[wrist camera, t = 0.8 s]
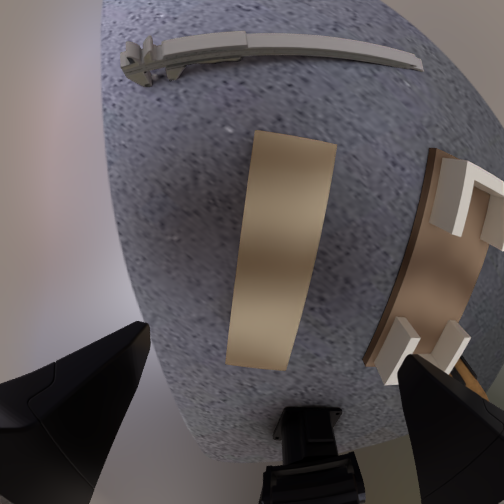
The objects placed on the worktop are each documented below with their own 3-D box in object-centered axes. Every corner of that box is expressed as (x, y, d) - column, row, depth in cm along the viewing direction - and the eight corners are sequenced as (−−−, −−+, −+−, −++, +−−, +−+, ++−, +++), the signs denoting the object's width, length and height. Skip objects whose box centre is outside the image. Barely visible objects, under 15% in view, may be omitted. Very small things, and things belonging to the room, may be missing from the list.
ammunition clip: (443, 354, 23) (493, 431, 11) (456, 346, 22) (508, 419, 11) (439, 402, 26) (471, 466, 14) (450, 395, 25) (483, 457, 14)
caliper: (147, 89, 16) (102, 67, 10) (146, 76, 15) (102, 51, 9) (421, 72, 14) (469, 54, 8) (418, 60, 14) (464, 39, 8)
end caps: (433, 360, 21) (445, 379, 19) (374, 362, 21) (384, 385, 18) (498, 186, 15) (521, 193, 13) (442, 157, 15) (467, 160, 12)
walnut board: (431, 358, 23) (435, 364, 22) (362, 359, 22) (365, 366, 21) (496, 182, 16) (503, 184, 15) (429, 148, 16) (436, 148, 15)
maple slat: (281, 328, 22) (285, 370, 17) (231, 322, 21) (225, 364, 17) (316, 147, 17) (337, 144, 12) (256, 137, 17) (254, 130, 12)
